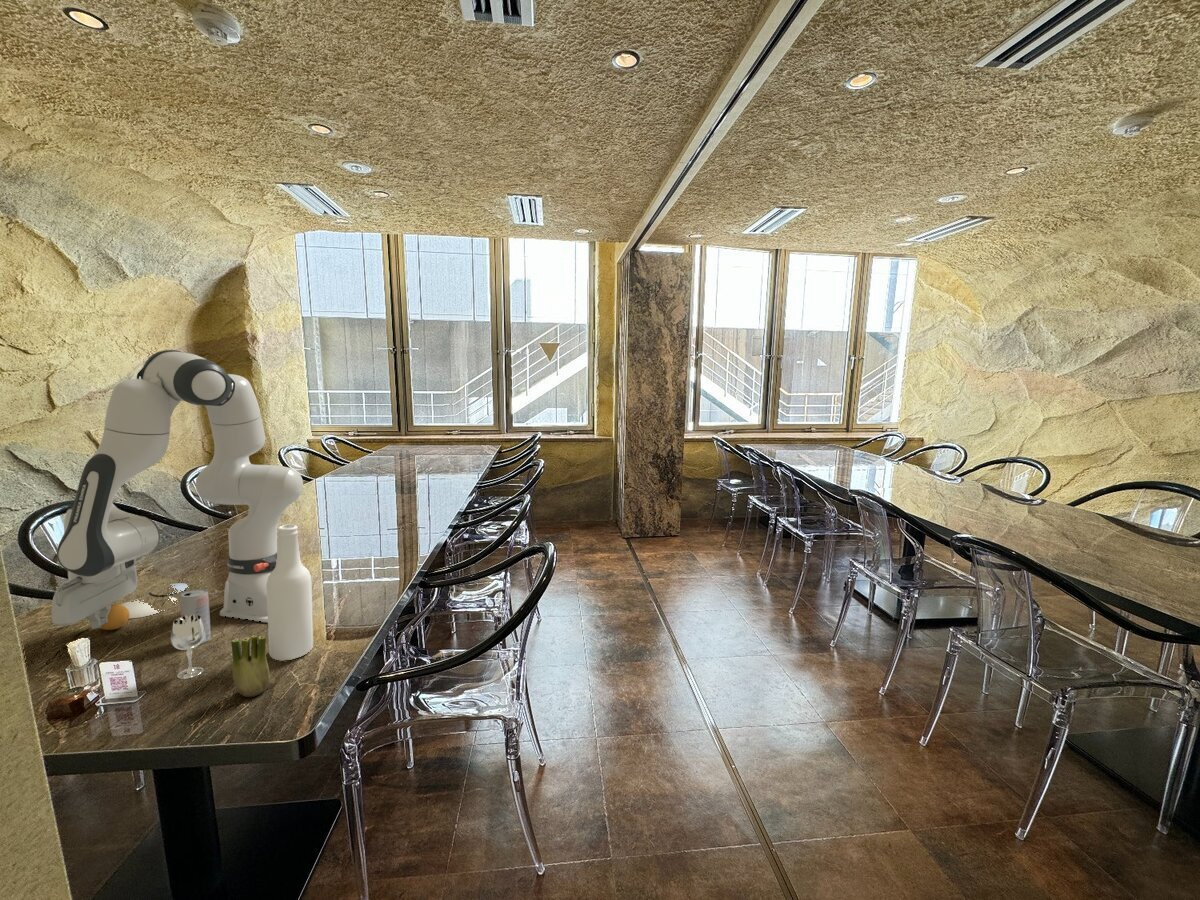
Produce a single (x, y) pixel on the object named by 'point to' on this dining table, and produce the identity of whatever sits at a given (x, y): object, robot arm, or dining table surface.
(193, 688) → the dining table surface
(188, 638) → the wineglass
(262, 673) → the fennel bulb
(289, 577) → the white bottle
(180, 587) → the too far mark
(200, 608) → the energy drink
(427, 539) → the dining table surface
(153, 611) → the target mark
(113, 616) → the ball
